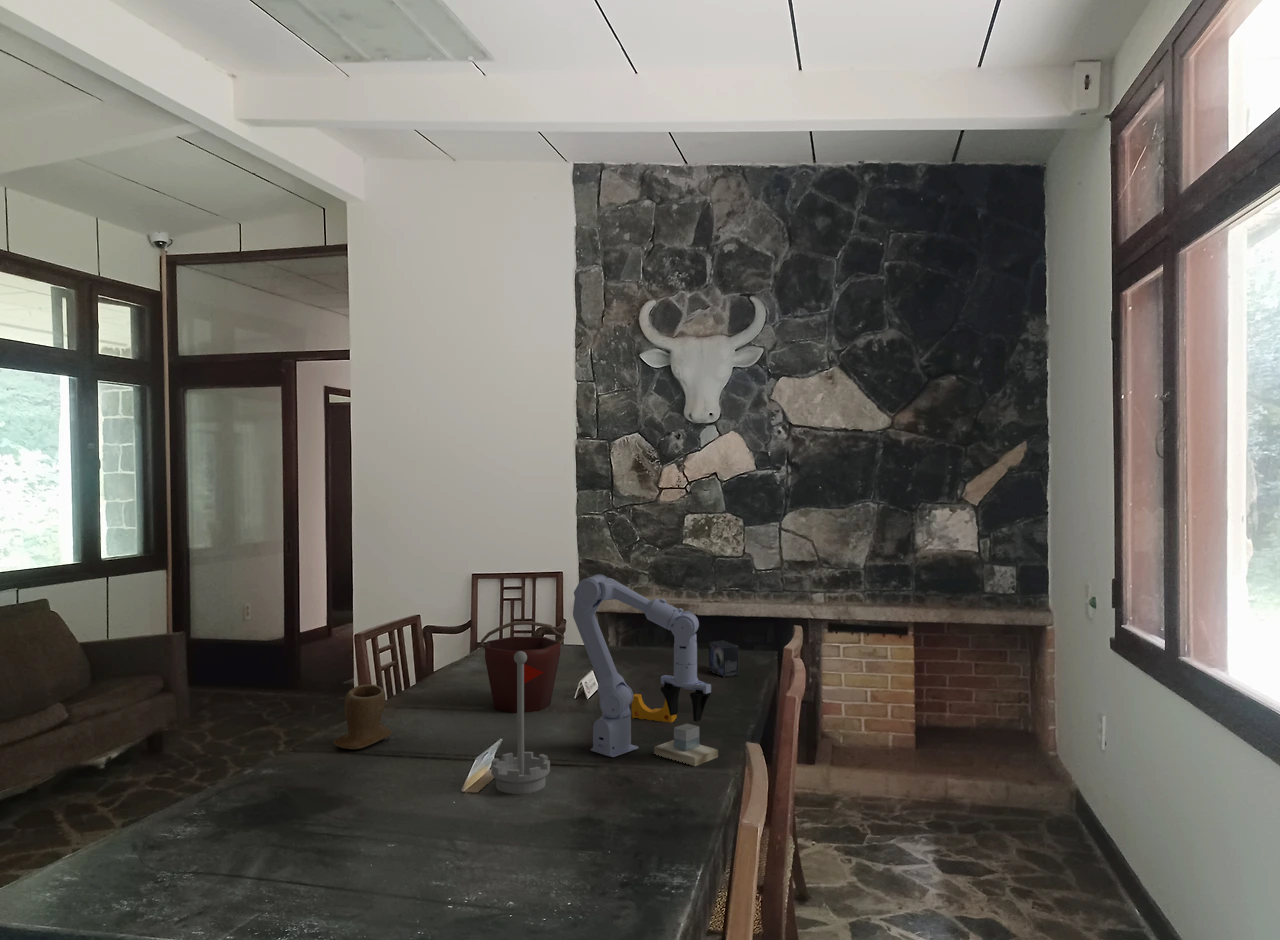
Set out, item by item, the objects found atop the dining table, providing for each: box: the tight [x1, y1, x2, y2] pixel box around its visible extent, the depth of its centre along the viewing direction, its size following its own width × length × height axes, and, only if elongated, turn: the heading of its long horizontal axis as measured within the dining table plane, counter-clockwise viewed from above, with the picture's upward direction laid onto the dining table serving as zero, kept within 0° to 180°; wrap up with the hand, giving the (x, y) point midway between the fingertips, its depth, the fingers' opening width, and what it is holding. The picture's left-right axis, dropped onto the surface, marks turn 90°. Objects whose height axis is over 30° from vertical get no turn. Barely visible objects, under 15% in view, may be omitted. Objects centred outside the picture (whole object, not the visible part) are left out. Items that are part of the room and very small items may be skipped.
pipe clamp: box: [631, 693, 678, 724], centre depth 247 cm, size 12×4×6 cm, turn 68°
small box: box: [708, 640, 739, 676], centre depth 301 cm, size 11×6×10 cm, turn 25°
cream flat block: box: [653, 739, 719, 767], centre depth 215 cm, size 9×13×2 cm
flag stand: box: [490, 651, 551, 795], centre depth 196 cm, size 13×13×30 cm
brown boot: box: [333, 683, 393, 750], centre depth 225 cm, size 15×12×15 cm
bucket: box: [479, 621, 566, 714], centre depth 260 cm, size 24×22×25 cm
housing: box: [673, 723, 700, 751], centre depth 215 cm, size 5×4×5 cm
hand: (685, 717), depth 215 cm, fingers open, 7 cm apart
